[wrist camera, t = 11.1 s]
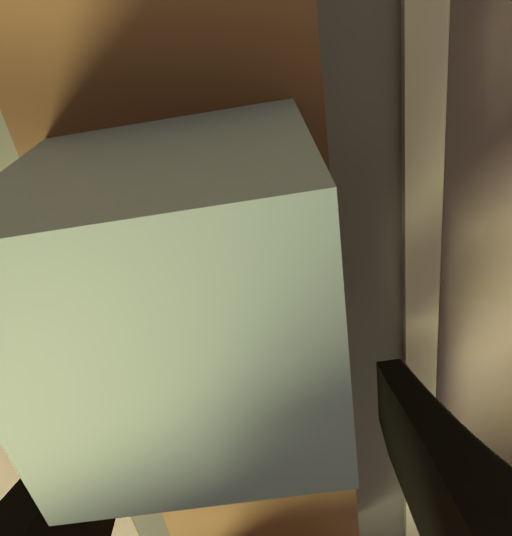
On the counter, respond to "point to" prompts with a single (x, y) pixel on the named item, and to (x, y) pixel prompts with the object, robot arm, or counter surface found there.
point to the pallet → (163, 107)
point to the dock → (378, 212)
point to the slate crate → (174, 317)
